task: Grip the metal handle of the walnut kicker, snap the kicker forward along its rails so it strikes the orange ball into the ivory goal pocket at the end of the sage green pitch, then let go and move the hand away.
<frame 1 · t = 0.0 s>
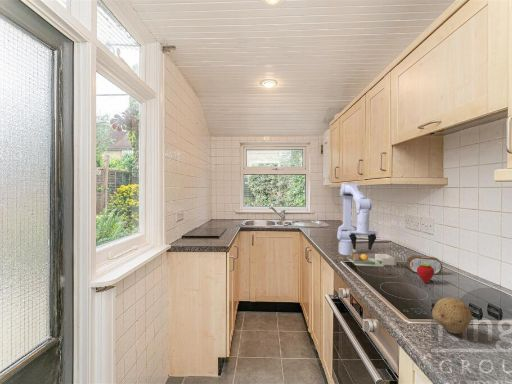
hand: (361, 249, 139), 10 cm above the countertop, tool pointing down, fingers open, 7 cm apart
tin: (424, 273, 136), on the countertop
pitch: (371, 264, 150), on the countertop
strawberry: (424, 283, 121), on the countertop
kicker: (354, 253, 150), point 5 cm above the countertop, slide at 0.0 cm
natural sponge: (450, 333, 79), on the countertop
ball: (363, 257, 150), point 3 cm above the countertop, touching pitch
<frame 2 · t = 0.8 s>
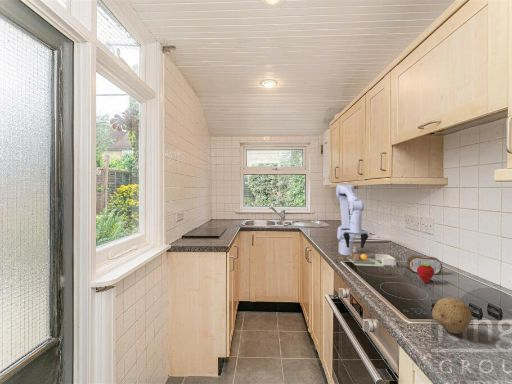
hand: (354, 247, 150), 9 cm above the countertop, tool pointing down, fingers open, 7 cm apart
nothing on the countertop moved.
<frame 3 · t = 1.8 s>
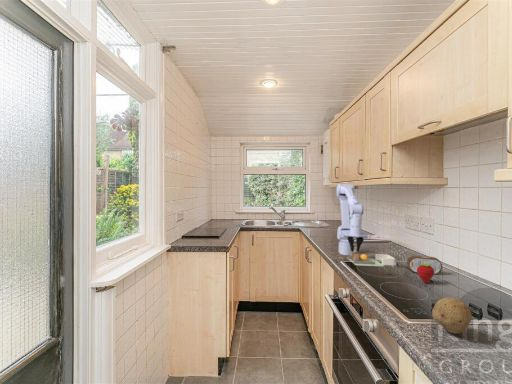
hand: (354, 251, 150), 7 cm above the countertop, tool pointing down, fingers closed on kicker, 2 cm apart
kicker: (354, 253, 150), point 5 cm above the countertop, slide at 0.0 cm, touching gripper
everything else where it was.
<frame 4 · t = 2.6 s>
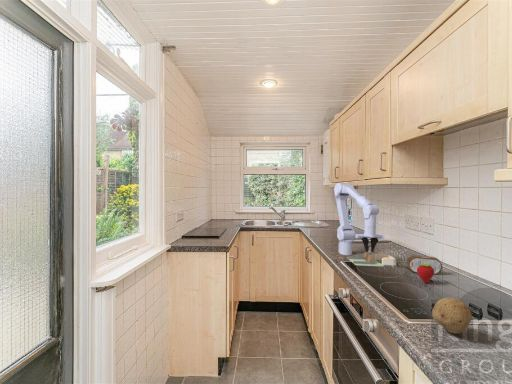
hand: (369, 251, 149), 7 cm above the countertop, tool pointing down, fingers closed on kicker, 2 cm apart
kicker: (369, 253, 149), point 5 cm above the countertop, slide at 7.7 cm, touching gripper
ball: (385, 260, 149), point 2 cm above the countertop, tilted 32°, touching pitch
everything else where it was.
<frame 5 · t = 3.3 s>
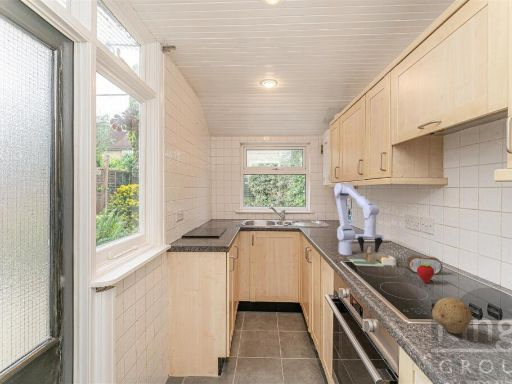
hand: (369, 251, 149), 7 cm above the countertop, tool pointing down, fingers open, 7 cm apart
kicker: (369, 253, 149), point 6 cm above the countertop, slide at 7.7 cm
ball: (384, 260, 149), point 2 cm above the countertop, tilted 54°, touching pitch
everything else where it was.
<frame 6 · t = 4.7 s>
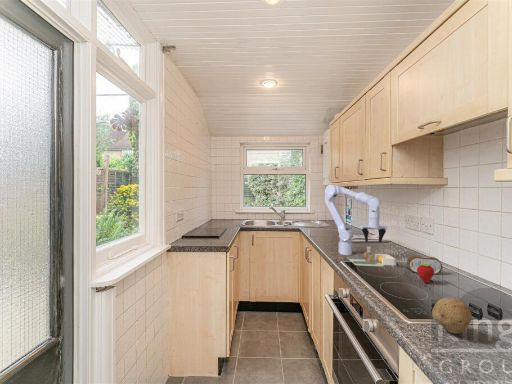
hand: (373, 241, 159), 10 cm above the countertop, tool pointing down, fingers open, 7 cm apart
ball: (382, 260, 149), point 2 cm above the countertop, tilted 91°, touching pitch
everything else where it was.
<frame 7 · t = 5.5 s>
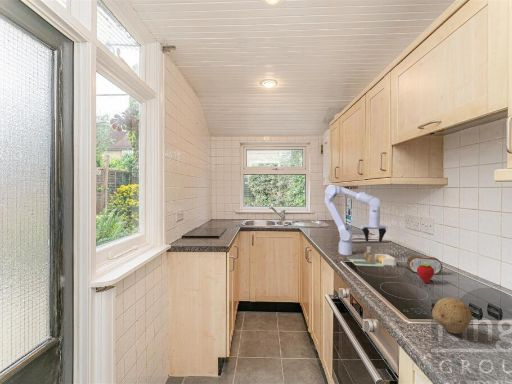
hand: (373, 241, 160), 10 cm above the countertop, tool pointing down, fingers open, 7 cm apart
ball: (382, 260, 149), point 2 cm above the countertop, tilted 86°, touching pitch
everything else where it was.
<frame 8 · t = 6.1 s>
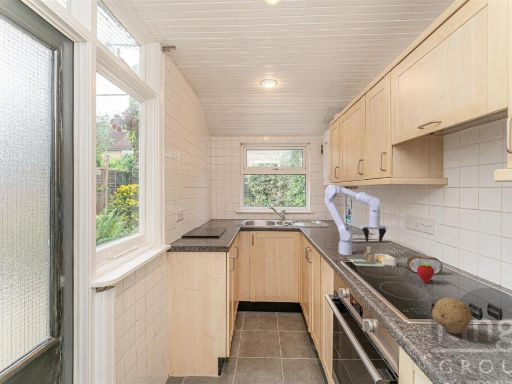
hand: (373, 241, 160), 10 cm above the countertop, tool pointing down, fingers open, 7 cm apart
nothing on the countertop moved.
at the end: ball inside the target area (1.0 cm from its centre), point 2.2 cm above the countertop; kicker slide at 7.7 cm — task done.
